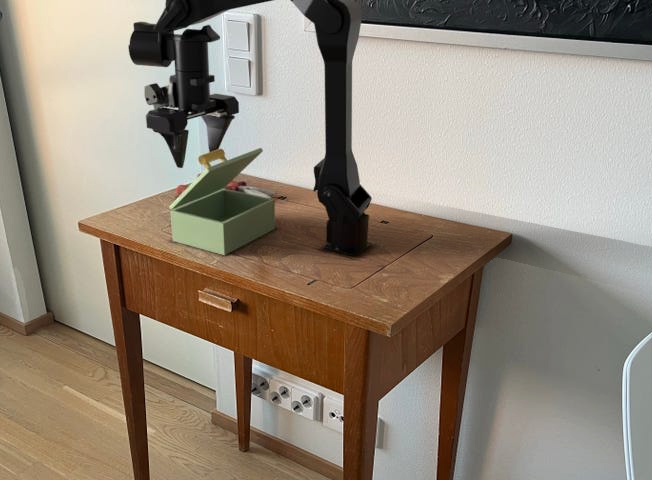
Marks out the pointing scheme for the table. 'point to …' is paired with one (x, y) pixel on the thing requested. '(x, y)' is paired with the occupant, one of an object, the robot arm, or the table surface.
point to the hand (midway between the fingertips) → (196, 161)
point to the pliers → (236, 189)
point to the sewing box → (223, 220)
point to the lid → (215, 175)
